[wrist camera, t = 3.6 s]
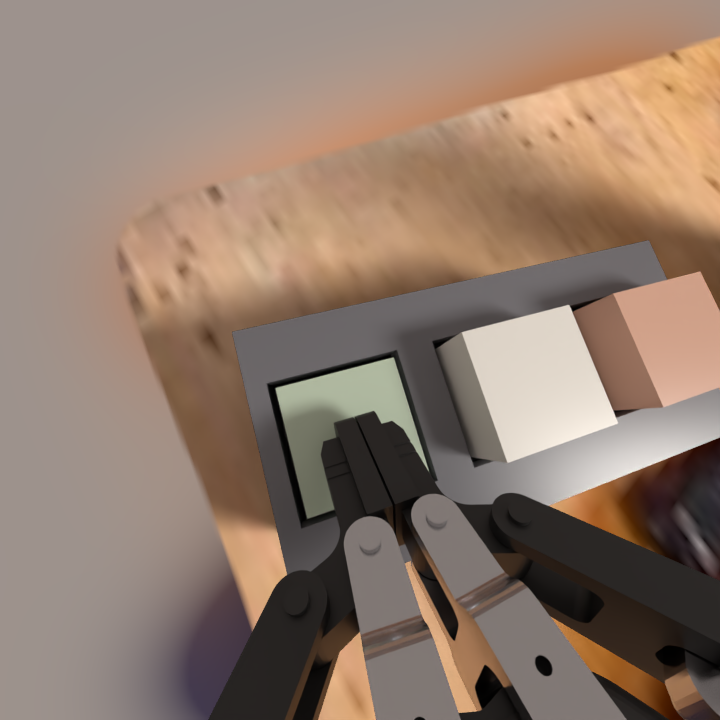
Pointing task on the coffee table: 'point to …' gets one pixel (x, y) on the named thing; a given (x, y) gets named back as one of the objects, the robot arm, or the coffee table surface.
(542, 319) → the key mid
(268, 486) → the console
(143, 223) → the coffee table surface
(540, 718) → the robot arm
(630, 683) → the coffee table surface
